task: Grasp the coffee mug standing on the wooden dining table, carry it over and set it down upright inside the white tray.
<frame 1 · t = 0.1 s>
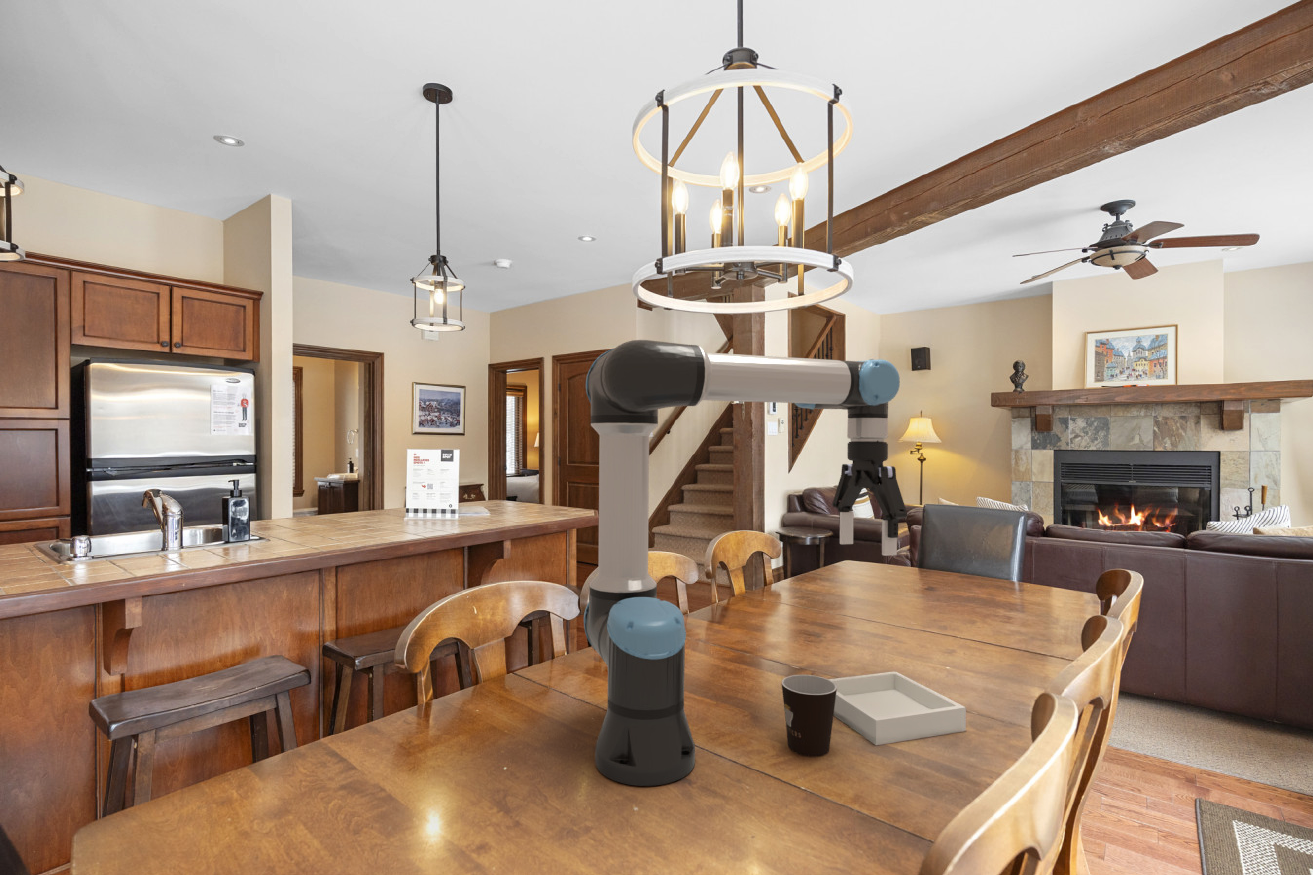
hand: (866, 549, 126), 28 cm above the table, tool pointing down, fingers open, 13 cm apart
coffee mug: (808, 744, 104), on the table
white tray: (886, 715, 115), on the table
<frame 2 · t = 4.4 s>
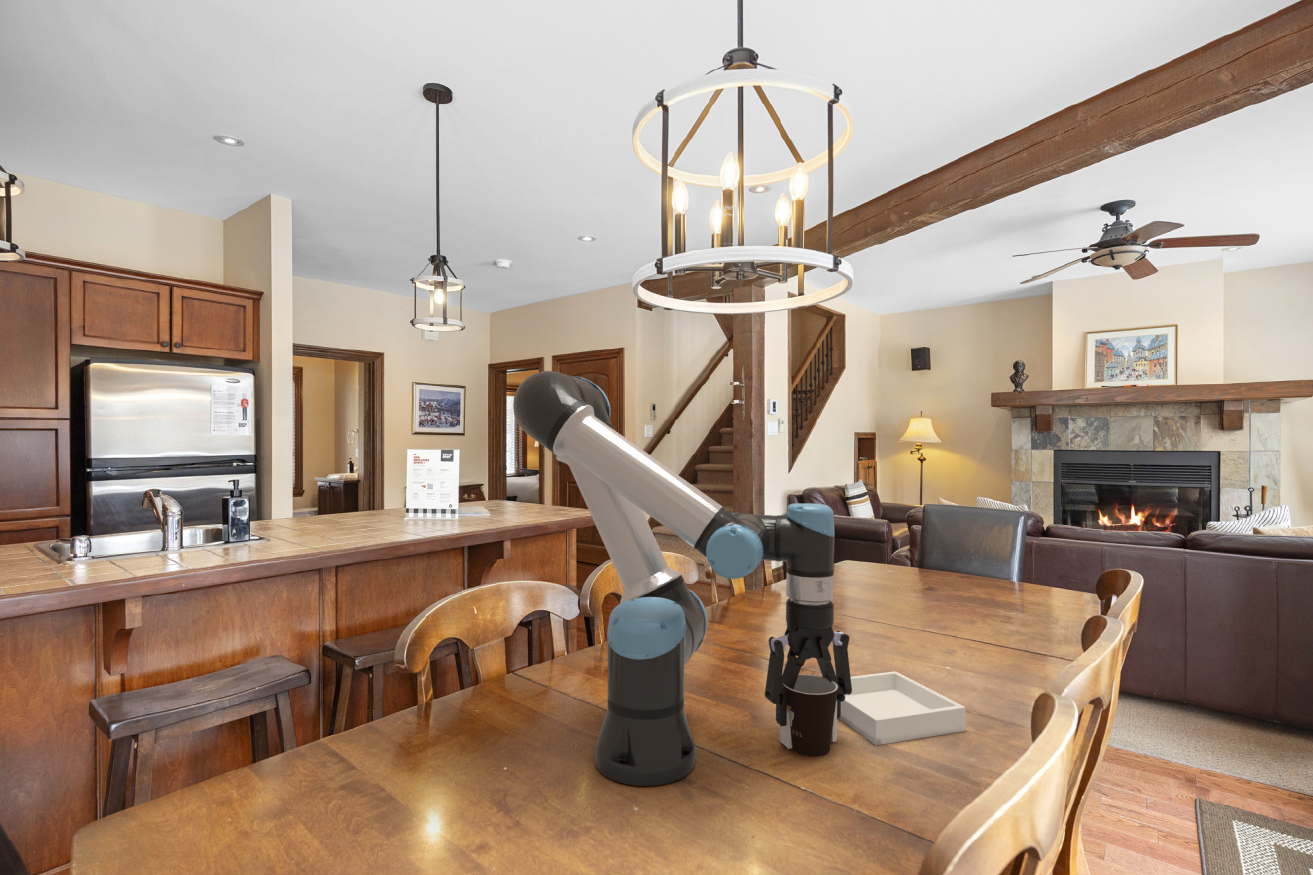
hand: (808, 741, 104), 0 cm above the table, tool pointing down, fingers open, 7 cm apart
coffee mug: (809, 743, 105), on the table, touching gripper
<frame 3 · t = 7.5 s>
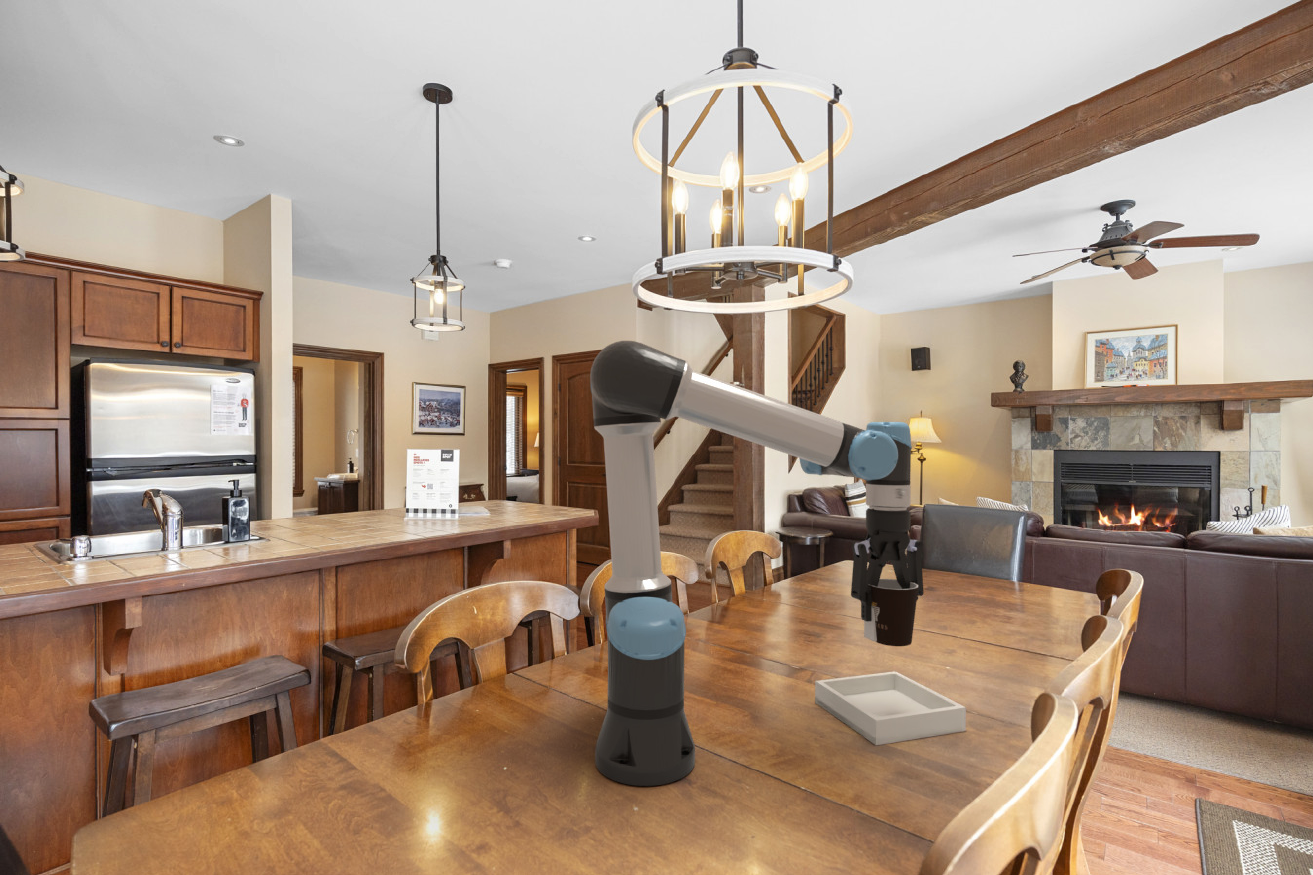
hand: (887, 637, 115), 14 cm above the table, tool pointing down, fingers closed on coffee mug, 6 cm apart
coffee mug: (890, 639, 115), point 14 cm above the table, touching gripper
when the fingers open (2 cm above the table, at t = 10.3 s): coffee mug stays where it is, resting on white tray.
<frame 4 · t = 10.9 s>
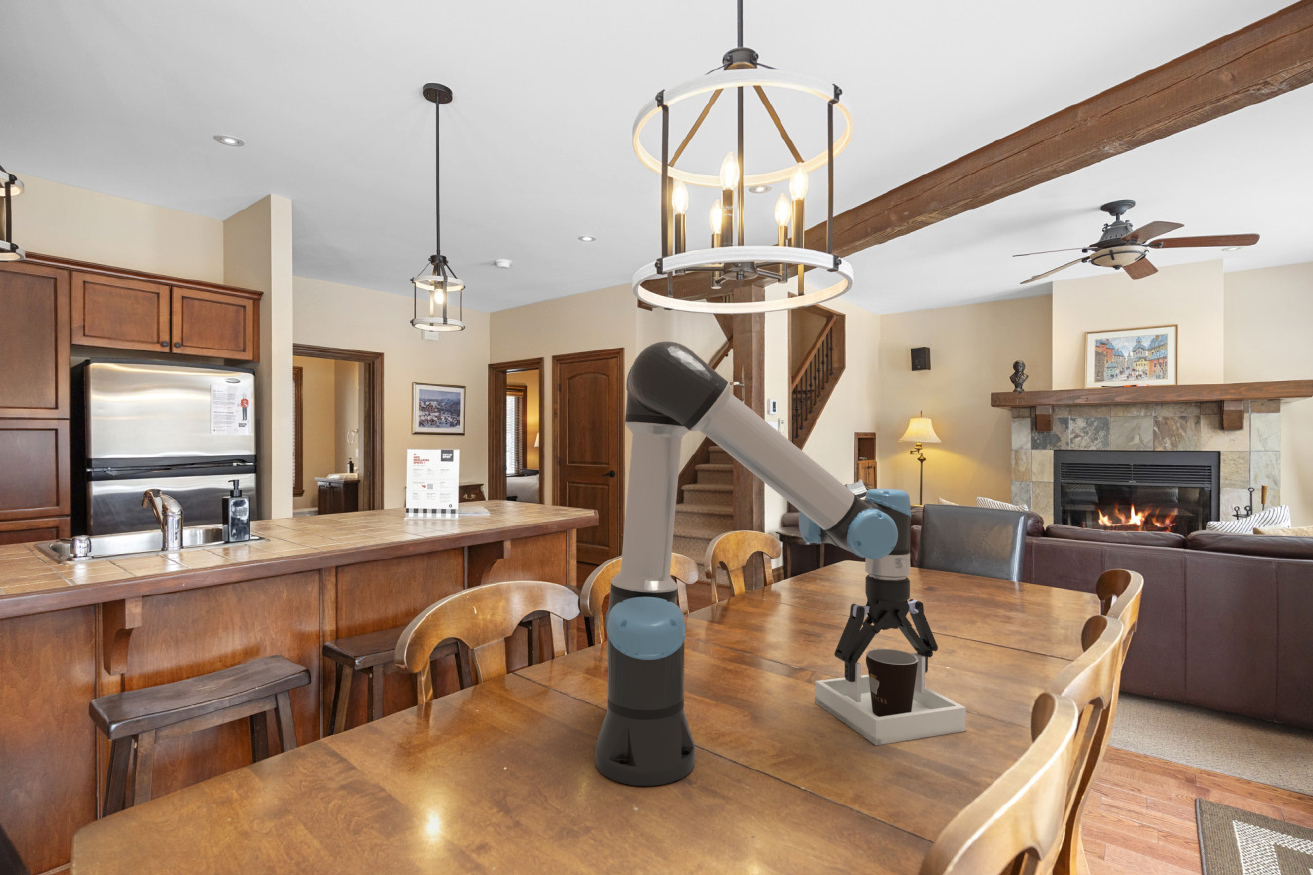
hand: (886, 695, 115), 4 cm above the table, tool pointing down, fingers open, 13 cm apart
coffee mug: (890, 710, 115), point 1 cm above the table, touching white tray
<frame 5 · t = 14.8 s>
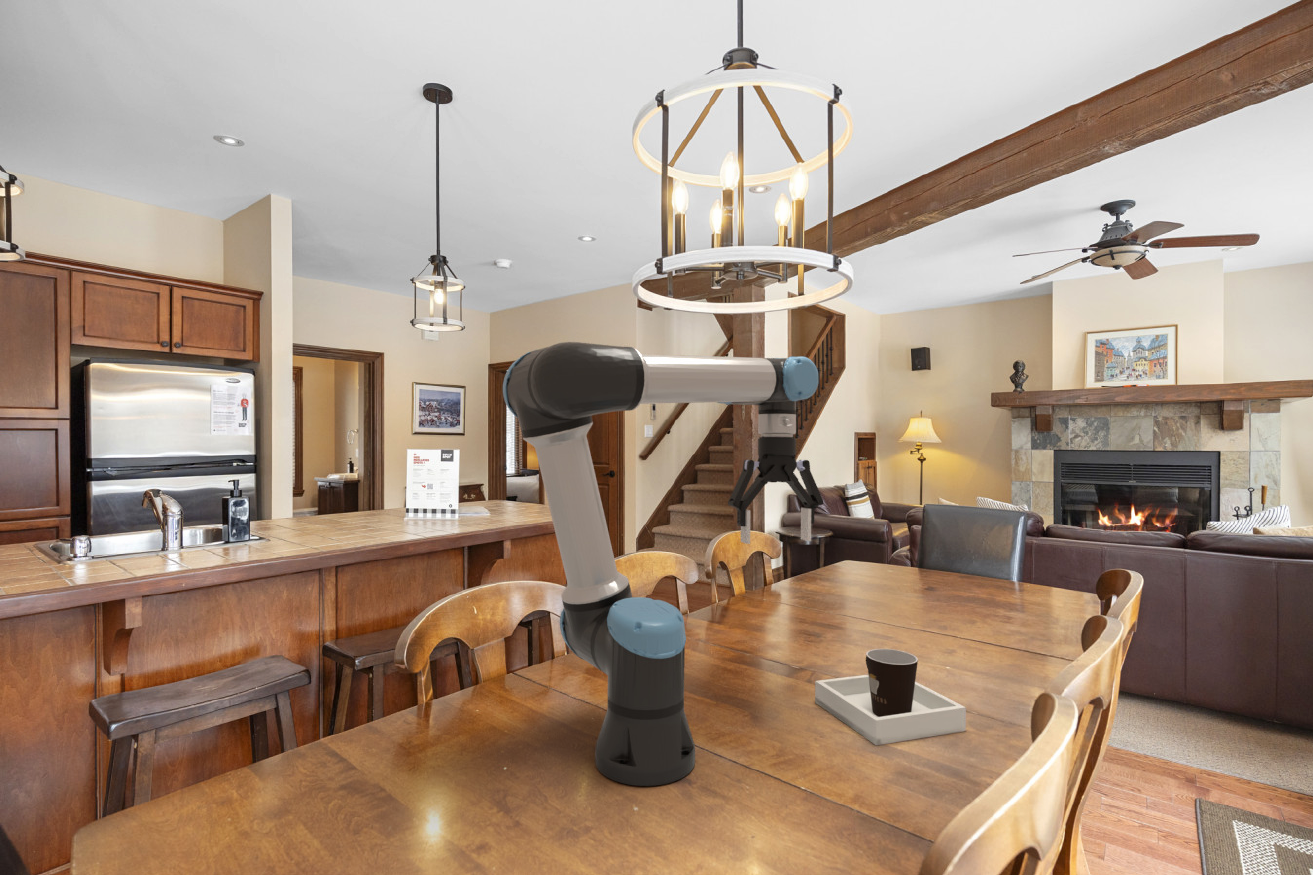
hand: (776, 541, 130), 29 cm above the table, tool pointing down, fingers open, 13 cm apart
nothing on the table moved.
at the end: coffee mug inside the target area on the white tray (0.7 cm from its centre), point 0.8 cm above the white tray's base; coffee mug tilted 0°; the gripper is holding nothing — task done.
